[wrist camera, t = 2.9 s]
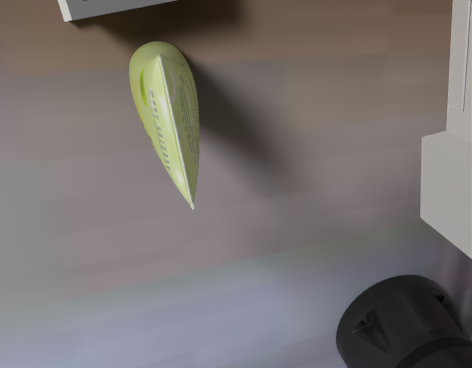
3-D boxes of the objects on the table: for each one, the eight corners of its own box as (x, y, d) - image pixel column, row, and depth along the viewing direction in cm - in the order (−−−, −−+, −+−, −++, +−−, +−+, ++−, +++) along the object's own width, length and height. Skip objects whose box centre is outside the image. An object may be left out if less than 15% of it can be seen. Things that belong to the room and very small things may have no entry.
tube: (109, 71, 37) (91, 148, 20) (145, 21, 36) (160, 55, 19) (165, 111, 39) (193, 211, 22) (200, 65, 38) (258, 132, 21)
